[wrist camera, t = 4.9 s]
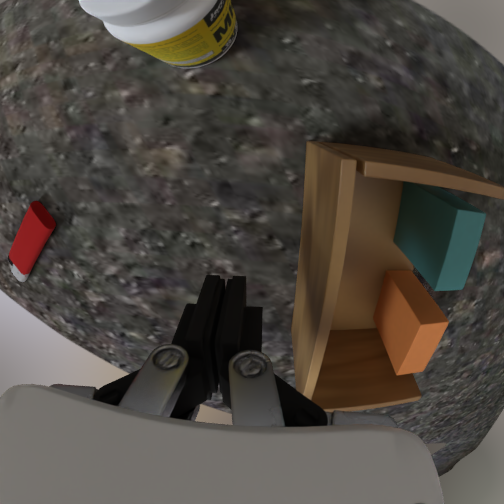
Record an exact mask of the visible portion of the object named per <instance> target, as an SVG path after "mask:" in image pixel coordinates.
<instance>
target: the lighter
mask: <svg viewBox="0 0 504 504" xmlns="http://www.w3.org/2000/svg"><path fill="white" fill-rule="evenodd" d="M55 226H56V223H55V220H54V219H53V218H52V216H51V215H50V214H49V212H48V211H47V210H46V209H45V207H44V206H43V205H42V204H41V203H40V202H39V201H33V202H32V203H31V205H30V207H29V209H28V211H27V213H26V215H25V217H24V219H23V221H22V224H21V226H20V228H19V230H18V233H17V235H16V237H15V240H14V242H13V245H12V247H11V250H10V253H9V256H8V260H9V262H10V264H11V265H12V266H11V270H12V273H13V274H14V275H15V277H16V278H17V279H18V280H19V281H21V282H24V281H26V279H27V277H28V275H29V274H30V272H31V269H32V267H33V265H34V263H35V262H36V260H37V258H38V256H39V254H40V252H41V250H42V249H43V247H44V245H45V243H46V241H47V240H48V238H49V236H50V235H51V233H52V231H53V230H54V228H55Z"/></svg>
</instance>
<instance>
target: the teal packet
mask: <svg viewBox="0 0 504 504" xmlns="http://www.w3.org/2000/svg"><path fill="white" fill-rule="evenodd" d="M485 217H486V213H484V212H483V211H481V210H479V209H478V208H476V207H474V206H473V205H471V204H469V203H467V202H466V201H464V200H462V199H460V198H459V197H457V196H455V195H453V194H451V193H449V192H447V191H446V190H444V189H442V188H440V187H438V186H433V185H426V184H420V183H413V182H406V181H404V182H403V189H402V196H401V202H400V208H399V214H398V219H397V225H396V230H395V235H394V239H393V242H394V243H395V244H396V245H397V247H398V248H399V249H400V250H401V251H402V252H403V253H404V255H405V256H406V257H407V258H408V259H409V260H410V262H411V263H412V264H413V265H414V266H415V268H416V269H417V270H418V271H419V272H420V274H421V275H422V276H423V277H424V278H425V280H426V281H427V282H428V283H429V285H430V286H431V287H432V289H433V290H434V291H447V290H462V289H463V288H464V285H465V282H466V280H467V277H468V274H469V271H470V269H471V266H472V263H473V260H474V257H475V253H476V250H477V247H478V244H479V240H480V236H481V233H482V229H483V225H484V221H485Z"/></svg>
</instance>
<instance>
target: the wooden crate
mask: <svg viewBox="0 0 504 504" xmlns="http://www.w3.org/2000/svg"><path fill="white" fill-rule="evenodd" d="M404 181H406V182H413V183H420V184H426V185H433V186H439V187H444V188H450V189H456V190H461V191H466V192H471V193H476V194H480V195H485V196H490V197H494V198H498V199H502V200H504V187H503V186H501V185H499V184H497V183H495V182H492V181H490V180H488V179H486V178H483V177H481V176H478V175H476V174H474V173H471V172H469V171H466V170H464V169H461V168H458V167H456V166H453V165H450V164H448V163H445V162H442V161H439V160H436V159H434V158H431V157H427V156H422V155H417V154H411V153H406V152H400V151H394V150H388V149H381V148H374V147H367V146H359V145H350V144H341V143H330V142H318V141H307V142H306V163H305V182H304V199H303V213H302V227H301V239H300V251H299V262H298V273H297V283H296V292H295V302H294V310H293V319H292V327H291V334H292V344H293V356H294V367H295V380H296V390H297V391H298V392H300V393H301V394H303V395H304V396H305V397H307V398H308V399H310V400H311V401H313V402H314V403H315V404H317V405H318V406H320V407H321V408H322V409H323V410H324V411H327V412H333V411H334V410H339V411H357V410H365V409H372V408H379V407H385V406H391V405H397V404H402V403H407V402H412V401H417V400H419V399H420V398H421V396H422V395H421V393H420V390H419V388H418V385H417V383H416V381H415V378H414V376H413V374H412V373H410V374H404V375H396V373H395V371H394V368H393V365H392V363H391V360H390V358H389V355H388V353H387V351H386V348H385V346H384V343H383V341H382V339H381V336H380V334H379V331H378V329H377V327H376V325H375V322H374V320H373V315H374V312H375V309H376V306H377V302H378V299H379V296H380V292H381V288H382V285H383V281H384V277H385V273H386V270H411V271H412V272H413V269H414V265H413V264H412V263H411V262H410V260H409V259H408V258H407V257H406V256H405V255H404V253H403V252H402V251H401V250H400V249H399V248H398V247H397V245H396V244H395V243H394V242H393V239H394V235H395V230H396V225H397V219H398V214H399V208H400V202H401V196H402V189H403V182H404Z"/></svg>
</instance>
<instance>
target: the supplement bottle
mask: <svg viewBox="0 0 504 504" xmlns="http://www.w3.org/2000/svg"><path fill="white" fill-rule="evenodd" d="M79 3H80V5H81V7H82V8H83V9H84V10H85V11H86V12H87V13H89V14H91V15H93V16H95V17H97V18H99V19H101V20H103V23H104V25H105V27H106V28H107V30H108V31H109V32H110V33H111V34H112V35H113V36H114V37H115V38H117V39H119V40H121V41H123V42H125V43H127V44H129V45H132V46H134V47H136V48H138V49H140V50H142V51H144V52H146V53H148V54H150V55H152V56H154V57H156V58H158V59H160V60H162V61H164V62H165V63H167V64H169V65H172V66H175V67H179V68H197V67H201V66H205V65H208V64H210V63H212V62H214V61H216V60H217V59H219V58H220V57H222V56H223V55H224V54H225V53H226V52H227V51H228V50H229V49H230V47H231V46H232V44H233V43H234V41H235V38H236V35H237V29H238V25H237V19H236V15H235V12H234V9H233V6H232V3H231V0H79Z"/></svg>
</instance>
